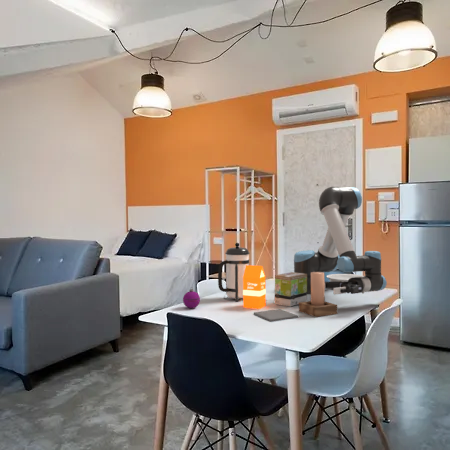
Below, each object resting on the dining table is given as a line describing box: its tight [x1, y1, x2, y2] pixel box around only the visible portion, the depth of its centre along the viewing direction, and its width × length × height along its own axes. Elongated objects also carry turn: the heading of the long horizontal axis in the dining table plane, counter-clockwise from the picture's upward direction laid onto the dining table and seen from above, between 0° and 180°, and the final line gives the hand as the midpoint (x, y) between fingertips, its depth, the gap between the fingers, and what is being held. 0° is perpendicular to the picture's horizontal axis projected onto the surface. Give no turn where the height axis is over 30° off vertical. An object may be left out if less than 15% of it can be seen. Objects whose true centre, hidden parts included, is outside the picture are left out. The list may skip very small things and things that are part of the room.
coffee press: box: [217, 242, 250, 303], centre depth 210 cm, size 17×16×30 cm
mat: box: [253, 308, 299, 322], centre depth 174 cm, size 14×14×1 cm
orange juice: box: [242, 264, 267, 310], centre depth 193 cm, size 8×9×20 cm
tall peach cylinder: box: [310, 272, 326, 306], centre depth 179 cm, size 6×6×18 cm
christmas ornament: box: [182, 287, 201, 309], centre depth 191 cm, size 8×8×10 cm
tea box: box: [274, 271, 308, 307], centre depth 200 cm, size 15×10×15 cm, turn 137°
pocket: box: [298, 300, 338, 318], centre depth 180 cm, size 12×12×4 cm
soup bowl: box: [326, 273, 364, 282], centre depth 242 cm, size 24×24×7 cm
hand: (323, 288), depth 180 cm, fingers open, 13 cm apart
